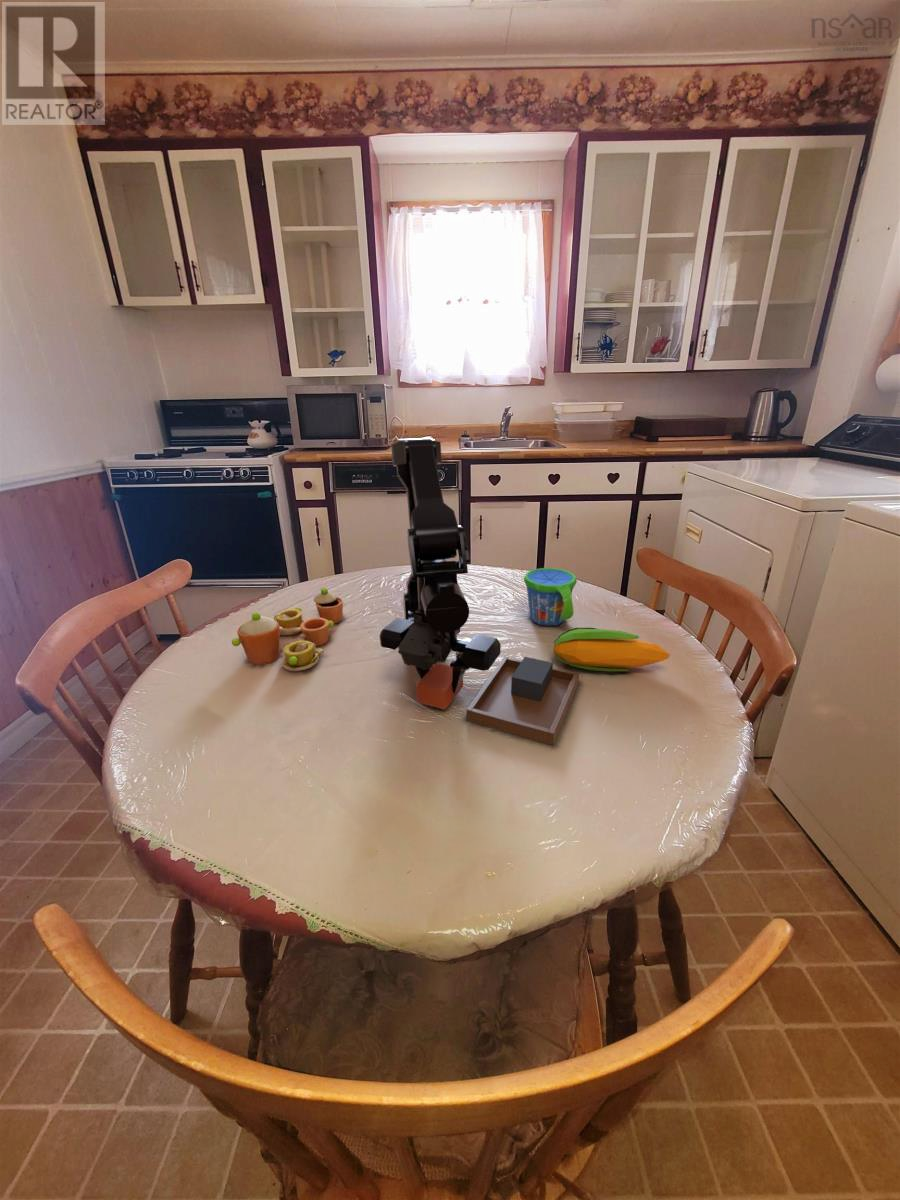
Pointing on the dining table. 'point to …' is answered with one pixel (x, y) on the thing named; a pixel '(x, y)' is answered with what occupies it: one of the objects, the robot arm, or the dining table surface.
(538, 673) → the dark grey rectangular block
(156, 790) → the dining table surface
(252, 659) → the toy tea set
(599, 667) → the corn
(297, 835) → the dining table surface
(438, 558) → the robot arm
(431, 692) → the orange red rectangular block
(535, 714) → the tray
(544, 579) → the snack cup
